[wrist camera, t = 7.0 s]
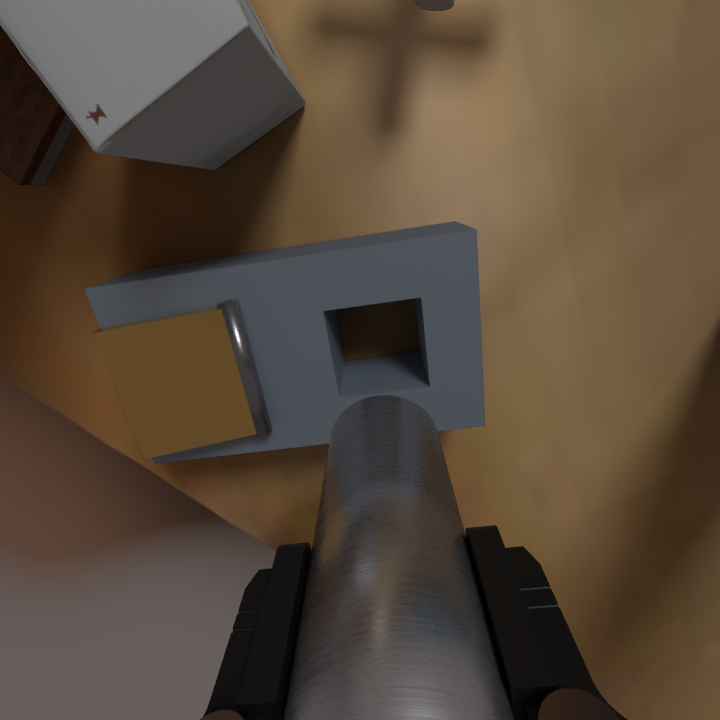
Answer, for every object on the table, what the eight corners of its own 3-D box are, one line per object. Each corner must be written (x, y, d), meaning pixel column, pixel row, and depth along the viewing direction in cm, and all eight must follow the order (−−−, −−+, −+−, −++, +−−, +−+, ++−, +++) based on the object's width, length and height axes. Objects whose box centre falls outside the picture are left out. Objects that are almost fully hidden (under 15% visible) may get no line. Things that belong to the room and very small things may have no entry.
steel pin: (434, 388, 14) (950, 2046, 2) (442, 481, 16) (745, 1727, 3) (321, 402, 15) (-26, 1874, 2) (340, 492, 16) (217, 1660, 3)
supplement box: (310, 105, 25) (256, 32, 13) (213, 173, 27) (90, 161, 15) (237, -29, 23) (96, -258, 11) (135, 54, 24) (-81, -70, 13)
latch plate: (239, 297, 24) (237, 302, 23) (272, 424, 27) (272, 434, 26) (99, 324, 23) (91, 330, 22) (151, 451, 26) (145, 462, 25)
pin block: (455, 221, 27) (476, 229, 22) (465, 384, 32) (485, 425, 26) (139, 270, 29) (84, 288, 24) (190, 418, 34) (154, 463, 28)
